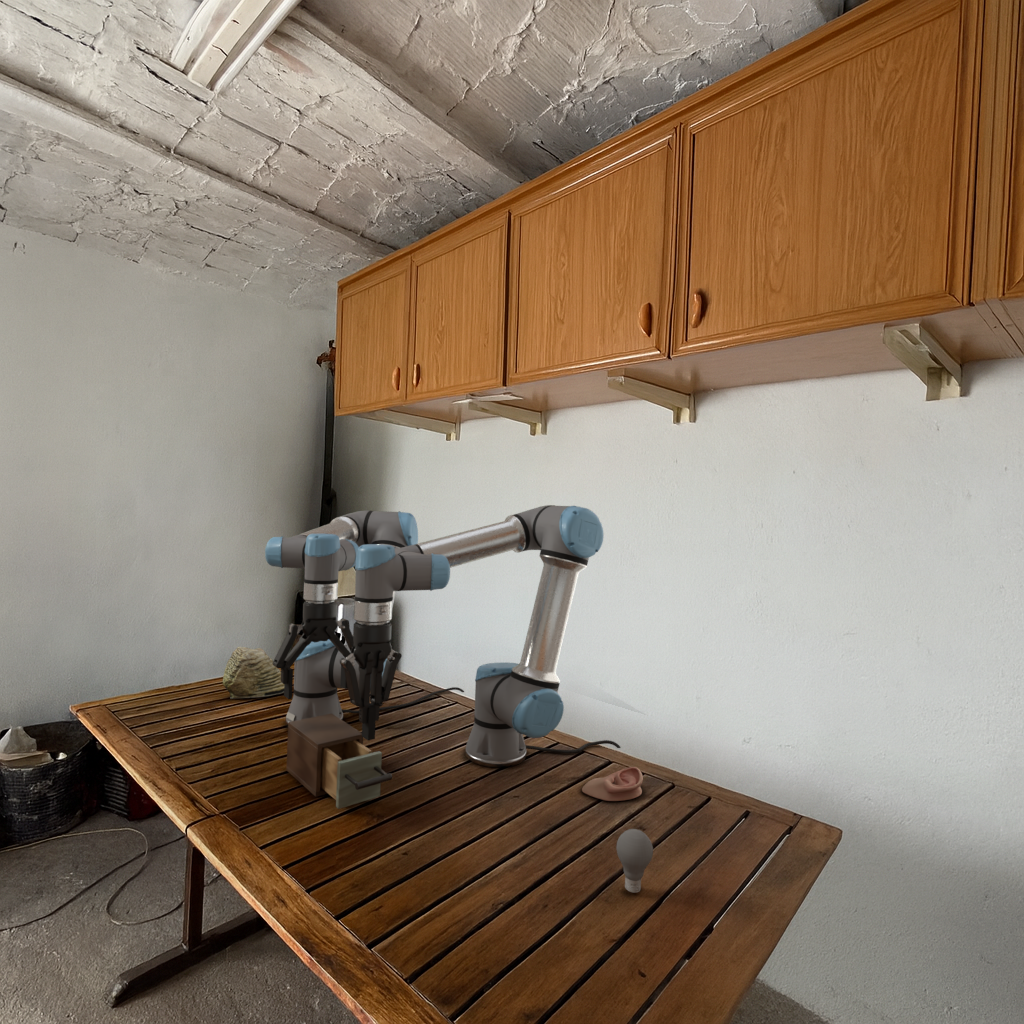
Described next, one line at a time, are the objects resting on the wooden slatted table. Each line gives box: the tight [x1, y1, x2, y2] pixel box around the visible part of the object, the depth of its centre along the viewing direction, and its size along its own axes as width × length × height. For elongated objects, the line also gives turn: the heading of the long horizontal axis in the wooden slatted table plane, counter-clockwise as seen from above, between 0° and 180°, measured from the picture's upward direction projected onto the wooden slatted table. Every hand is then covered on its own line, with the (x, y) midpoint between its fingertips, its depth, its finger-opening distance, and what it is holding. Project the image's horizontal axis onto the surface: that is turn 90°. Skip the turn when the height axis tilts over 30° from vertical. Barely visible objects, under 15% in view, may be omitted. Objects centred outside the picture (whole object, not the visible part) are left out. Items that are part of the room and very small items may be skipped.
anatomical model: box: [581, 766, 644, 802], centre depth 142 cm, size 13×4×12 cm
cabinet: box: [286, 714, 364, 798], centre depth 143 cm, size 16×11×11 cm, turn 41°
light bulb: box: [615, 828, 654, 894], centre depth 106 cm, size 6×6×10 cm
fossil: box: [222, 646, 284, 699], centre depth 198 cm, size 9×18×15 cm, turn 132°
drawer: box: [320, 740, 393, 810], centre depth 133 cm, size 21×9×9 cm, turn 41°
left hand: (316, 692), depth 146 cm, fingers open, 13 cm apart
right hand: (368, 737), depth 128 cm, fingers closed
